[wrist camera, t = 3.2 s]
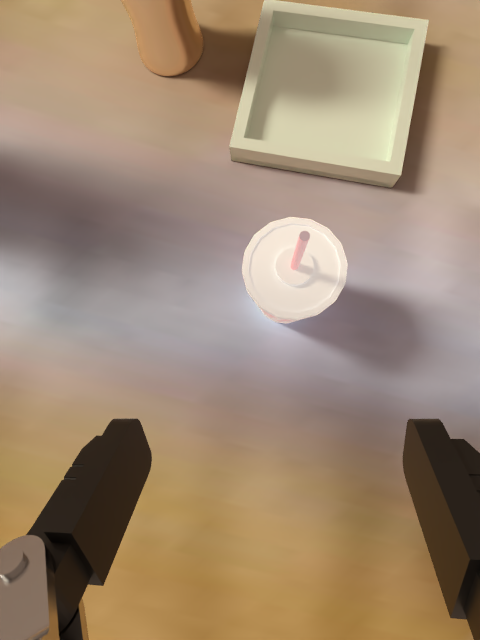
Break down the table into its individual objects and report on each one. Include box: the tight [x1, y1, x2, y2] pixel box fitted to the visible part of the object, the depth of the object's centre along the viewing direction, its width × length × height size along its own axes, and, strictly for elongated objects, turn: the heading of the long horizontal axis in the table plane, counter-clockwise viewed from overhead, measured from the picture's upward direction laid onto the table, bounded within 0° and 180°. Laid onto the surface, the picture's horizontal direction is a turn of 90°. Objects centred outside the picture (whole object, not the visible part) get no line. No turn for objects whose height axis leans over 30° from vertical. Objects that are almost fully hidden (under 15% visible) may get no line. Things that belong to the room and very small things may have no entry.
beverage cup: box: [242, 217, 348, 324], centre depth 22 cm, size 6×6×14 cm
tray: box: [229, 0, 429, 188], centre depth 30 cm, size 14×14×2 cm
